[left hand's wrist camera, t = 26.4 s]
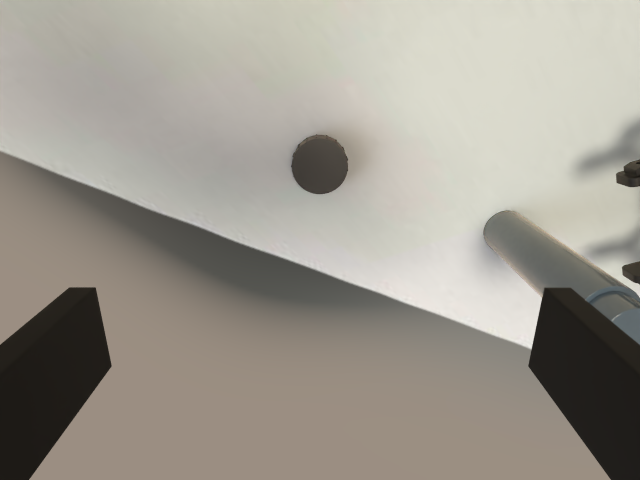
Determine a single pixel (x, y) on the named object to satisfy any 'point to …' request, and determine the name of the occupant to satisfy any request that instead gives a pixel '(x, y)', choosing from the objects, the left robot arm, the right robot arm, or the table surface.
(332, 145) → the lid
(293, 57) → the table surface
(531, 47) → the table surface
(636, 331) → the bottle
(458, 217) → the table surface
